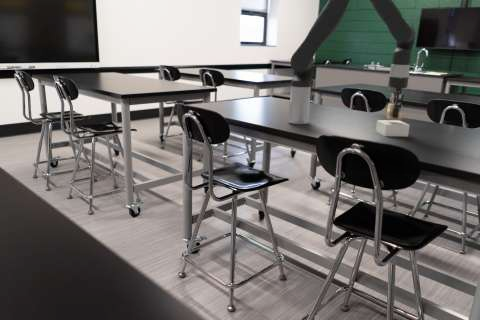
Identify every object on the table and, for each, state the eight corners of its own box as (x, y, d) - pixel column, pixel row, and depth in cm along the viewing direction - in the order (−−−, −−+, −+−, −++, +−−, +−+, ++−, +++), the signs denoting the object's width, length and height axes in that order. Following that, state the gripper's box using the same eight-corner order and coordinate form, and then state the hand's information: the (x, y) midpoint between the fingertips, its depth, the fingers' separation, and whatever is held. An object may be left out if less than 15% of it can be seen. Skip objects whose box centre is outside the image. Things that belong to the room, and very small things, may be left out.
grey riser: (384, 136, 168) (386, 124, 166) (375, 131, 177) (377, 120, 176) (407, 136, 168) (409, 125, 167) (397, 131, 178) (399, 120, 176)
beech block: (388, 119, 169) (390, 105, 167) (386, 117, 173) (388, 103, 172) (400, 119, 168) (402, 105, 166) (398, 117, 173) (400, 103, 171)
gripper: (386, 74, 173) (381, 113, 178) (393, 77, 159) (387, 119, 164) (404, 74, 172) (399, 114, 177) (413, 77, 158) (406, 120, 163)
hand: (393, 116), depth 170 cm, fingers closed on beech block, 5 cm apart
